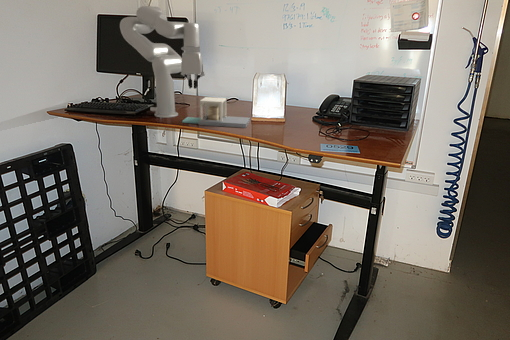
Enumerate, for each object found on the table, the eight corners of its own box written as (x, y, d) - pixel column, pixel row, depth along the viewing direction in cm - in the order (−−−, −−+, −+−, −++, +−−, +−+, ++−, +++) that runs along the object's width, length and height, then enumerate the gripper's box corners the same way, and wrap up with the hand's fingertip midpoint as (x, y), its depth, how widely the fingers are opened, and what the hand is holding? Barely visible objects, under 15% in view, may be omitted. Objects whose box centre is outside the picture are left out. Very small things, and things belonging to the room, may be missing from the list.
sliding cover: (200, 119, 192) (200, 100, 188) (205, 115, 201) (205, 97, 198) (221, 121, 190) (221, 101, 187) (226, 116, 200) (226, 98, 196)
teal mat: (182, 122, 194) (181, 121, 194) (187, 118, 203) (187, 117, 202) (199, 123, 193) (199, 122, 193) (203, 119, 202) (203, 118, 201)
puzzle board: (198, 124, 191) (198, 121, 190) (205, 118, 204) (205, 114, 203) (245, 127, 188) (245, 123, 187) (250, 121, 201) (250, 117, 200)
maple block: (208, 123, 195) (208, 107, 192) (210, 121, 199) (210, 106, 196) (216, 123, 194) (216, 108, 191) (218, 121, 198) (218, 106, 196)
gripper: (173, 49, 183) (175, 88, 189) (205, 51, 181) (206, 90, 187) (178, 48, 190) (180, 86, 196) (209, 50, 188) (210, 87, 194)
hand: (193, 87), depth 192 cm, fingers closed
